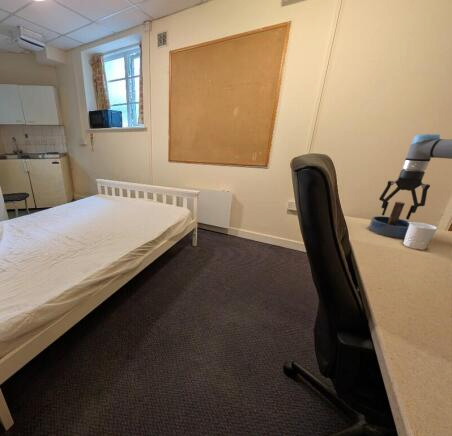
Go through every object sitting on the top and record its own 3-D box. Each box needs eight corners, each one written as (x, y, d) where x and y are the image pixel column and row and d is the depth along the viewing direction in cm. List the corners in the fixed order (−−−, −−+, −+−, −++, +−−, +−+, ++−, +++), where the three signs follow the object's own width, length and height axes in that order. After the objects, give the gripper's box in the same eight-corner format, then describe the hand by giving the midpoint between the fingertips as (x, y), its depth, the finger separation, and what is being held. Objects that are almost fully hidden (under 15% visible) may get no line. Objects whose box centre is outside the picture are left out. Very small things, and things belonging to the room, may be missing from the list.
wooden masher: (395, 231, 111) (407, 202, 106) (395, 234, 108) (408, 204, 103) (382, 228, 115) (392, 200, 109) (382, 231, 111) (393, 202, 106)
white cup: (426, 252, 92) (437, 230, 89) (400, 245, 98) (408, 225, 94) (427, 246, 97) (437, 225, 93) (402, 240, 103) (410, 220, 99)
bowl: (409, 232, 112) (414, 221, 110) (411, 242, 101) (417, 230, 99) (369, 224, 122) (372, 214, 120) (367, 232, 111) (371, 221, 109)
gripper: (382, 168, 105) (366, 213, 113) (450, 173, 91) (427, 224, 99) (382, 167, 110) (367, 210, 118) (447, 171, 96) (425, 219, 104)
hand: (394, 216), depth 108 cm, fingers open, 8 cm apart
